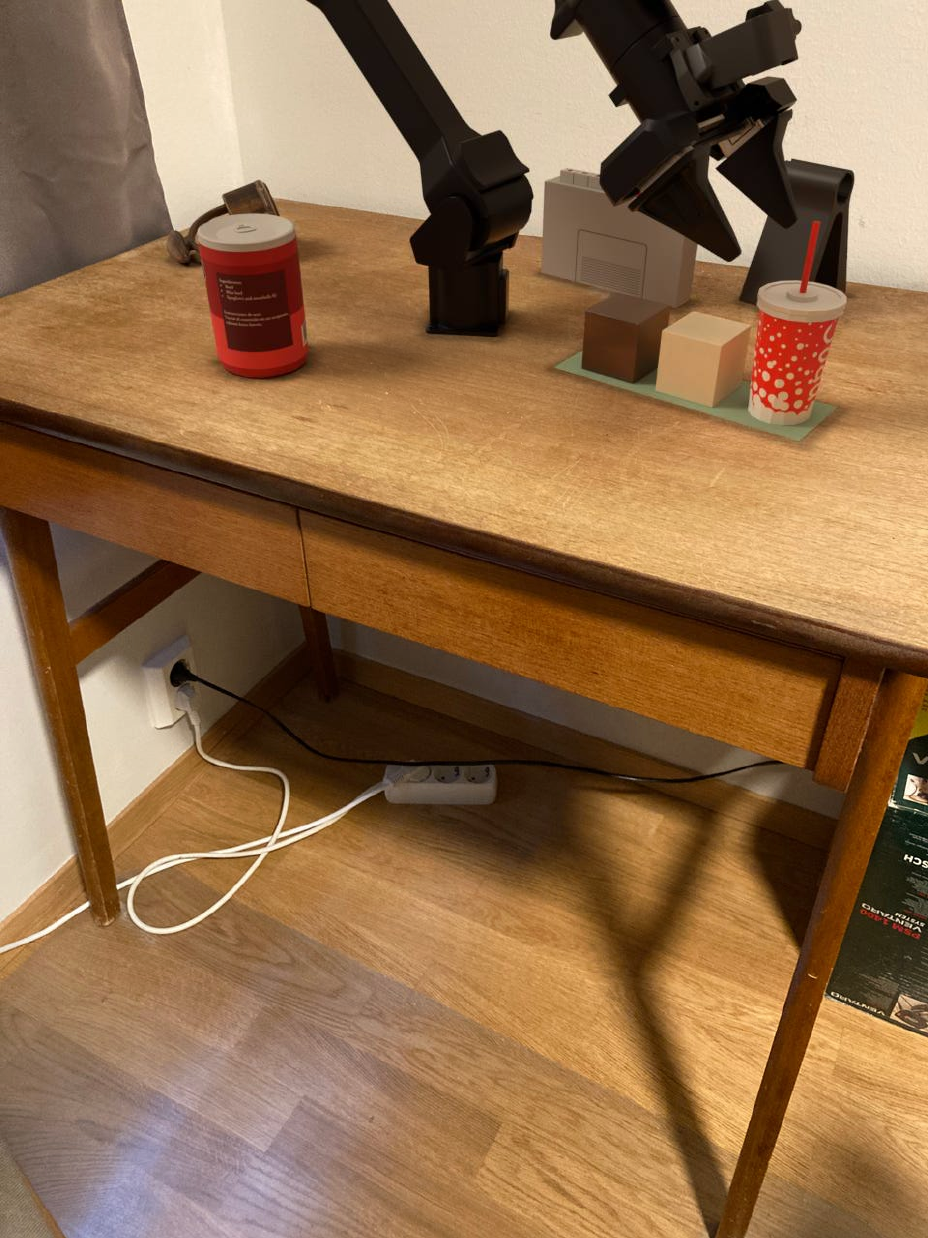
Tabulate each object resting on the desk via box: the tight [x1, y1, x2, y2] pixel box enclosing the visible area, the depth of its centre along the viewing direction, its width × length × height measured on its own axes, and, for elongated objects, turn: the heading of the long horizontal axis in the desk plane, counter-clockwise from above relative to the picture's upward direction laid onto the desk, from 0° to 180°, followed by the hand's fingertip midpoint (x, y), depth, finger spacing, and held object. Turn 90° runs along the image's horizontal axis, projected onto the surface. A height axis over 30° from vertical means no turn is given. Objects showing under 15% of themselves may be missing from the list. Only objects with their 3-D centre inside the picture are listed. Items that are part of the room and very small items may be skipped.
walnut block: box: [581, 292, 672, 384], centre depth 81 cm, size 5×5×5 cm
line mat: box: [553, 350, 838, 443], centre depth 80 cm, size 22×7×1 cm, turn 52°
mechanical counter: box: [166, 179, 281, 264], centre depth 105 cm, size 7×13×10 cm
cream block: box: [655, 310, 752, 408], centre depth 78 cm, size 5×5×5 cm
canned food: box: [197, 214, 309, 379], centre depth 82 cm, size 8×8×11 cm
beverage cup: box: [748, 221, 848, 425], centre depth 72 cm, size 6×6×14 cm
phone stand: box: [738, 157, 856, 307], centre depth 92 cm, size 9×6×12 cm, turn 133°
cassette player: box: [540, 167, 699, 309], centre depth 95 cm, size 16×3×10 cm, turn 50°
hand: (765, 240), depth 71 cm, fingers open, 9 cm apart
